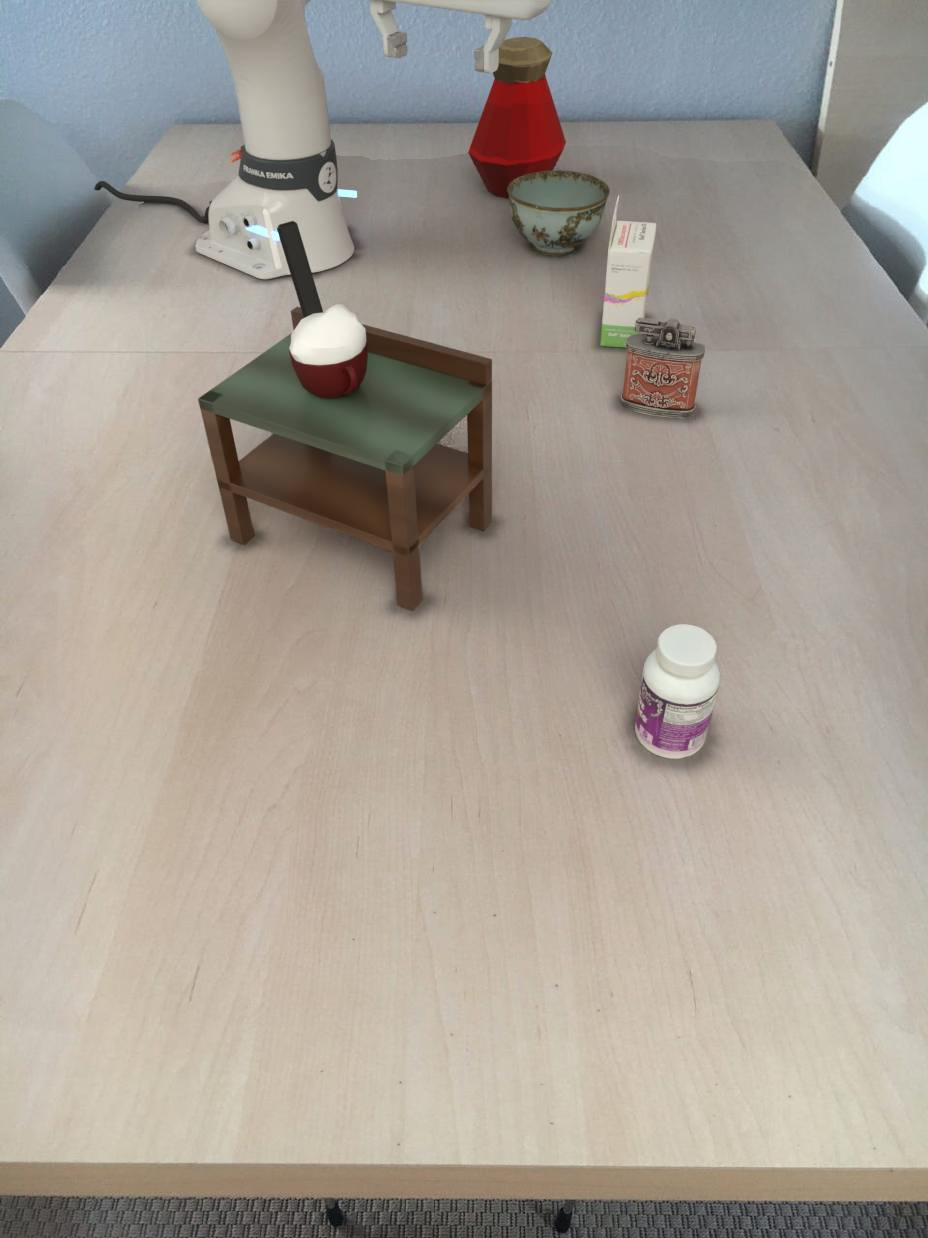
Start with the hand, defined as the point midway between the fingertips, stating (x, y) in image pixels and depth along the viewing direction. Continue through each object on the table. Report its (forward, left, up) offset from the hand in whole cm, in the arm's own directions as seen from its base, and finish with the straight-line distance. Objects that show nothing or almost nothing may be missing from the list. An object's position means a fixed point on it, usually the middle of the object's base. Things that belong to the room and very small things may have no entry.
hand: (440, 63), depth 88 cm
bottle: (-21, +56, -33) cm, 68 cm away
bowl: (-6, +39, -33) cm, 51 cm away
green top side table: (+6, -26, -33) cm, 42 cm away
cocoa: (+5, -26, -18) cm, 32 cm away
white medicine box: (+12, +21, -33) cm, 41 cm away
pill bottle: (+40, -35, -33) cm, 62 cm away
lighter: (+22, +7, -33) cm, 40 cm away
